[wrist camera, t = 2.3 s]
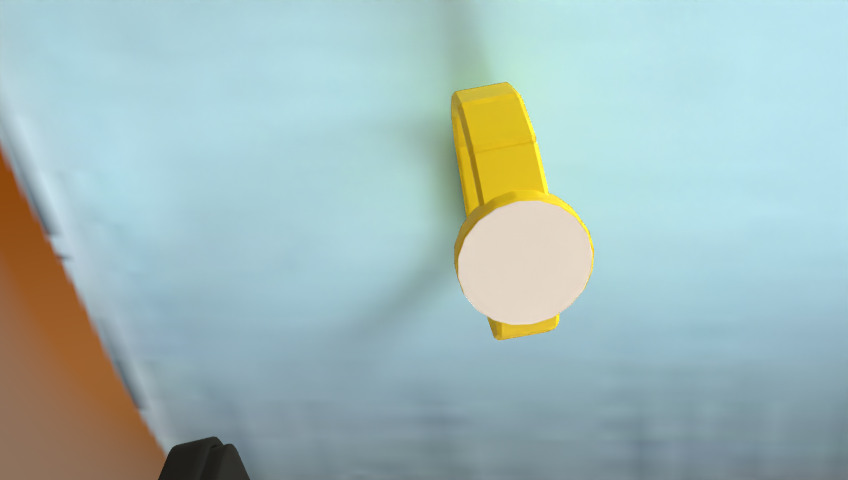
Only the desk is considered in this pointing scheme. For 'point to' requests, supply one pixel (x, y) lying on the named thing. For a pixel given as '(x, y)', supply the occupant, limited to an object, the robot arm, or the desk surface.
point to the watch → (513, 219)
